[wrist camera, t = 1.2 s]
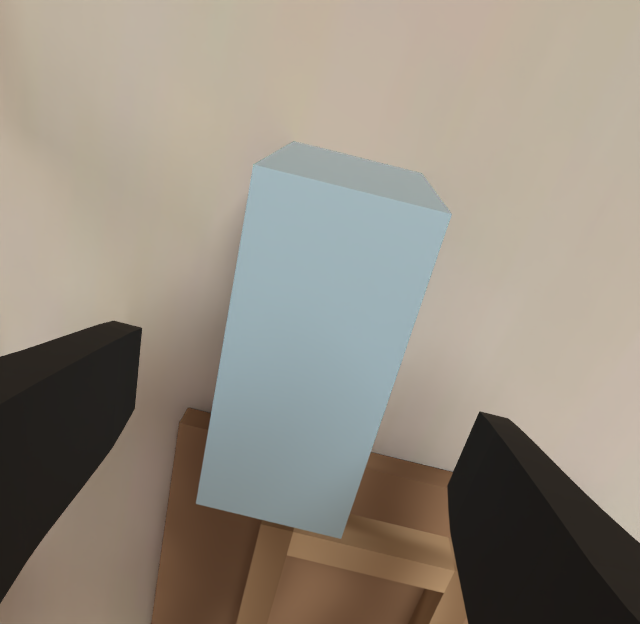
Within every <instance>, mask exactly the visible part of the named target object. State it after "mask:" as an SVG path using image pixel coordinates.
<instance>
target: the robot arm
mask: <svg viewBox="0 0 640 624" xmlns="http://www.w3.org/2000/svg"><path fill="white" fill-rule="evenodd" d="M141 334H142V328H141V327H136V326H132V325H128V324H124V323H120V322H116V321H111V322H106V323H103V324H99V325H96V326H93V327H90V328H87V329H84V330H81V331H78V332H75V333H72V334H69V335H66V336H63V337H60V338H57V339H54V340H51V341H48V342H45V343H42V344H39V345H36V346H34V347H31V348H28V349H25V350H21V351H18V352H15V353H11V354H8V355H5V356H1V357H0V603H1V602H2V600H3V598H4V597H5V595H6V594H7V592H8V590H9V589H10V587H11V586H12V584H13V582H14V581H15V579H16V578H17V576H18V575H19V573H20V571H21V570H22V568H23V567H24V565H25V563H26V562H27V560H28V559H29V557H30V556H31V555H32V553H33V552H34V550H35V549H36V548H37V546H38V545H39V543H40V542H41V541H42V539H43V538H44V536H45V535H46V534H47V533H48V531H49V530H50V529H51V527H52V526H53V525H54V524H55V522H56V521H57V520H58V518H59V517H60V516H61V514H62V513H63V512H64V511H65V509H66V508H67V507H68V505H69V504H70V503H71V501H72V500H73V499H74V498H75V496H76V495H77V494H78V492H79V491H80V490H81V489H82V487H83V486H84V485H85V483H86V482H87V481H88V479H89V478H90V477H91V475H92V474H93V473H94V472H95V470H96V469H97V468H98V466H99V465H100V464H101V462H102V461H103V460H104V458H105V457H106V456H107V454H108V453H109V452H110V450H111V449H112V447H113V446H114V444H115V442H116V441H117V439H118V437H119V436H120V434H121V432H122V430H123V429H124V427H125V425H126V423H127V421H128V420H129V418H130V416H131V414H132V412H133V411H134V409H135V399H136V388H137V378H138V367H139V356H140V345H141ZM447 491H448V512H449V525H450V534H451V540H452V545H453V550H454V555H455V560H456V566H457V571H458V576H459V580H460V585H461V590H462V595H463V600H464V605H465V610H466V615H467V620H468V624H640V543H639V542H638V541H637V540H635V539H634V538H633V537H632V536H631V535H630V534H629V533H628V532H626V531H625V530H624V529H623V528H622V527H621V526H620V525H619V524H618V523H616V522H615V521H614V520H613V519H612V518H611V517H610V516H609V515H608V514H607V513H605V512H604V511H603V510H602V509H601V508H600V507H599V506H598V505H597V504H596V503H595V502H594V501H593V500H592V499H591V498H590V497H589V496H587V495H586V494H585V493H584V492H583V491H582V490H581V489H580V488H579V487H578V486H577V485H576V484H575V483H574V482H573V481H572V480H571V479H570V478H569V477H568V476H567V475H566V474H565V473H564V472H563V471H562V470H561V469H560V468H559V467H558V466H557V465H556V464H555V463H554V462H553V461H552V460H551V459H550V458H549V457H548V456H547V455H546V454H545V453H544V452H543V451H542V450H541V449H540V448H539V447H538V446H537V445H536V444H535V443H534V442H533V441H532V440H531V439H530V438H529V437H528V436H527V435H526V434H525V433H524V432H523V431H522V430H521V429H520V428H519V427H518V426H516V425H515V424H514V423H513V422H512V421H511V420H509V419H508V418H504V417H500V416H496V415H492V414H488V413H484V412H479V414H478V416H477V419H476V421H475V423H474V425H473V428H472V430H471V432H470V435H469V437H468V439H467V441H466V444H465V446H464V448H463V451H462V453H461V455H460V457H459V460H458V462H457V464H456V467H455V469H454V471H453V474H452V476H451V478H450V480H449V483H448V485H447Z"/></svg>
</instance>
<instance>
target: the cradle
mask: <svg viewBox="0 0 640 624" xmlns="http://www.w3.org/2000/svg"><path fill="white" fill-rule="evenodd" d="M210 417H211V413H208V412H204V411H200V410H196V409H192V408H188V409H187V410H186V412H185V414H184V416H183V417H182V419H181V421H180V423H179V428H178V435H177V443H176V450H175V457H174V464H173V471H172V478H171V486H170V493H169V500H168V507H167V514H166V521H165V529H164V536H163V543H162V550H161V557H160V564H159V572H158V579H157V586H156V593H155V600H154V607H153V615H152V622H151V624H468V620H467V615H466V610H465V605H464V600H463V595H462V590H461V585H460V580H459V576H458V571H457V566H456V560H455V555H454V550H453V545H452V540H451V534H450V525H449V512H448V491H447V485H448V483H449V480H450V478H451V476H452V474H453V472H450V471H446V470H442V469H438V468H434V467H429V466H425V465H421V464H417V463H413V462H409V461H405V460H401V459H397V458H393V457H388V456H384V455H380V454H376V453H372V452H371V453H370V456H369V459H368V462H367V464H366V467H365V470H364V473H363V476H362V479H361V482H360V485H359V488H358V491H357V494H356V497H355V500H354V503H353V506H352V508H351V511H350V514H349V517H348V520H347V523H346V526H345V529H344V532H343V535H342V538H341V539H339V538H335V537H331V536H327V535H323V534H318V533H314V532H310V531H306V530H302V529H298V528H294V527H290V526H286V525H281V524H277V523H273V522H269V521H265V520H261V519H257V518H253V517H248V516H244V515H240V514H236V513H232V512H228V511H224V510H220V509H215V508H211V507H207V506H203V505H199V504H196V500H197V494H198V488H199V482H200V476H201V470H202V464H203V458H204V452H205V447H206V441H207V435H208V429H209V423H210Z"/></svg>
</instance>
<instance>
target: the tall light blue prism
mask: <svg viewBox="0 0 640 624" xmlns="http://www.w3.org/2000/svg"><path fill="white" fill-rule="evenodd" d="M451 215H452V214H451V212H450V211H449V210H448V208H447V207H446V206H445V204H444V203H443V201H442V200H441V199H440V197H439V196H438V195H437V193H436V192H435V191H434V189H433V188H432V186H431V185H430V184H429V182H428V181H427V180H426V178H425V177H424V175H423V174H422V173H419V172H415V171H411V170H407V169H403V168H399V167H395V166H391V165H387V164H383V163H379V162H375V161H371V160H367V159H363V158H359V157H355V156H351V155H347V154H343V153H339V152H335V151H331V150H327V149H323V148H319V147H315V146H311V145H307V144H303V143H299V142H296V141H293V142H292V143H290V144H288V145H286V146H285V147H283V148H281V149H279V150H278V151H276V152H274V153H273V154H271V155H269V156H267V157H266V158H264V159H262V160H260V161H259V162H257V163H255V164H253V170H252V176H251V182H250V188H249V194H248V199H247V205H246V211H245V217H244V223H243V229H242V235H241V241H240V247H239V252H238V258H237V264H236V270H235V276H234V282H233V288H232V294H231V299H230V305H229V311H228V317H227V323H226V329H225V335H224V341H223V347H222V352H221V358H220V364H219V370H218V376H217V382H216V388H215V394H214V400H213V405H212V411H211V417H210V423H209V429H208V435H207V441H206V447H205V452H204V458H203V464H202V470H201V476H200V482H199V488H198V494H197V500H196V504H199V505H203V506H207V507H211V508H215V509H220V510H224V511H228V512H232V513H236V514H240V515H244V516H248V517H253V518H257V519H261V520H265V521H269V522H273V523H277V524H281V525H286V526H290V527H294V528H298V529H302V530H306V531H310V532H314V533H318V534H323V535H327V536H331V537H335V538H339V539H341V538H342V535H343V532H344V529H345V526H346V523H347V520H348V517H349V514H350V511H351V508H352V506H353V503H354V500H355V497H356V494H357V491H358V488H359V485H360V482H361V479H362V476H363V473H364V470H365V467H366V464H367V462H368V459H369V456H370V453H371V450H372V447H373V444H374V441H375V438H376V435H377V432H378V429H379V426H380V423H381V420H382V417H383V415H384V412H385V409H386V406H387V403H388V400H389V397H390V394H391V391H392V388H393V385H394V382H395V379H396V376H397V373H398V371H399V368H400V365H401V362H402V359H403V356H404V353H405V350H406V347H407V344H408V341H409V338H410V335H411V332H412V329H413V327H414V324H415V321H416V318H417V315H418V312H419V309H420V306H421V303H422V300H423V297H424V294H425V291H426V288H427V285H428V282H429V280H430V277H431V274H432V271H433V268H434V265H435V262H436V259H437V256H438V253H439V250H440V247H441V244H442V241H443V238H444V236H445V233H446V230H447V227H448V224H449V221H450V218H451Z"/></svg>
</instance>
